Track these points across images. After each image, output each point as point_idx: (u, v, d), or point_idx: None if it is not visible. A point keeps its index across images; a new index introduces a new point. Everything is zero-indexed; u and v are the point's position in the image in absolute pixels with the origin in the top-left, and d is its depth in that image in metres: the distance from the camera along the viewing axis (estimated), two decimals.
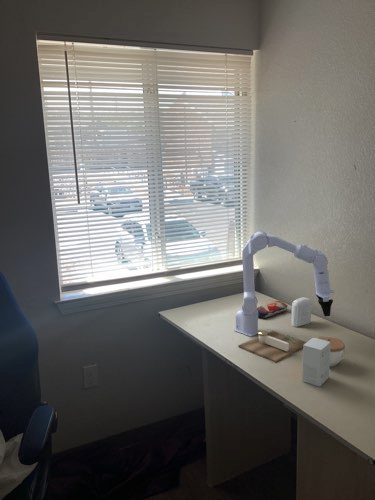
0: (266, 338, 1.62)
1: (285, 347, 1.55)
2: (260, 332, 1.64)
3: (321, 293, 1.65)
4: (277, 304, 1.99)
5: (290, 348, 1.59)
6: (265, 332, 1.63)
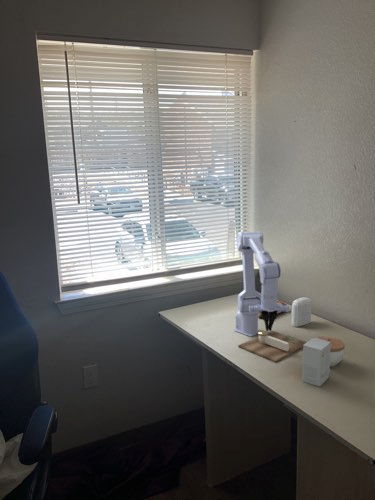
0: (266, 338, 1.62)
1: (285, 347, 1.55)
2: (260, 332, 1.64)
3: (261, 305, 1.52)
4: (278, 304, 1.99)
5: (290, 348, 1.59)
6: (265, 332, 1.63)
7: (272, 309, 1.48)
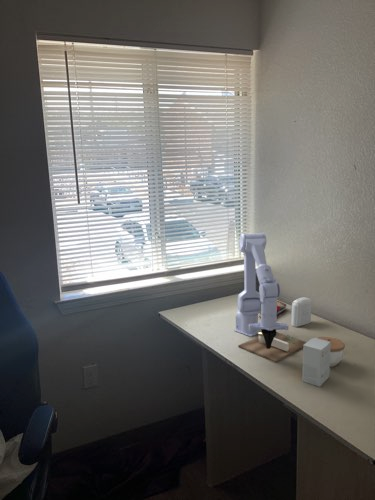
0: None
1: (285, 347, 1.55)
2: (260, 332, 1.64)
3: (260, 323, 1.53)
4: (278, 304, 2.00)
5: (290, 348, 1.59)
6: None
7: (272, 328, 1.49)
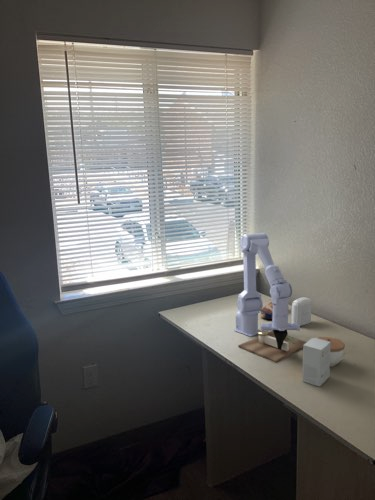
0: (266, 338, 1.62)
1: (285, 347, 1.55)
2: (260, 332, 1.64)
3: (272, 323, 1.55)
4: None
5: (290, 348, 1.59)
6: (265, 332, 1.63)
7: (283, 328, 1.50)
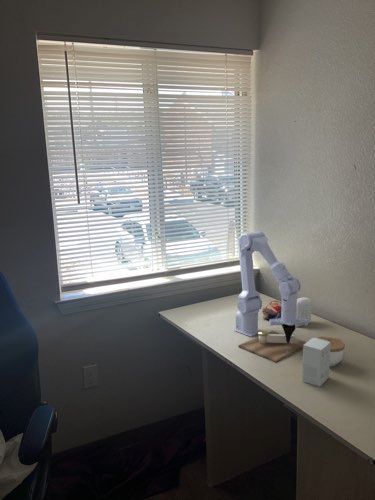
0: (268, 337, 1.63)
1: (292, 339, 1.62)
2: (261, 333, 1.63)
3: (281, 318, 1.60)
4: (278, 304, 2.00)
5: (290, 348, 1.59)
6: (264, 331, 1.64)
7: (292, 323, 1.56)
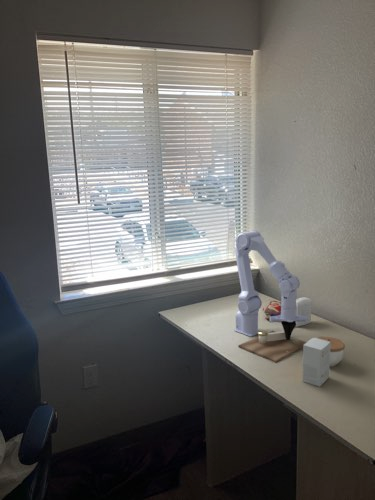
0: (269, 336, 1.64)
1: None
2: (262, 333, 1.63)
3: (280, 315, 1.63)
4: (278, 304, 2.00)
5: (290, 348, 1.59)
6: (264, 331, 1.64)
7: (291, 320, 1.59)
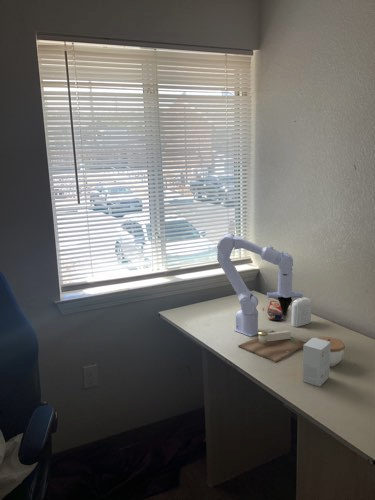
0: (269, 336, 1.64)
1: (289, 335, 1.66)
2: (262, 333, 1.63)
3: (277, 292, 1.71)
4: (279, 304, 2.00)
5: (290, 348, 1.59)
6: (264, 331, 1.64)
7: (288, 295, 1.67)
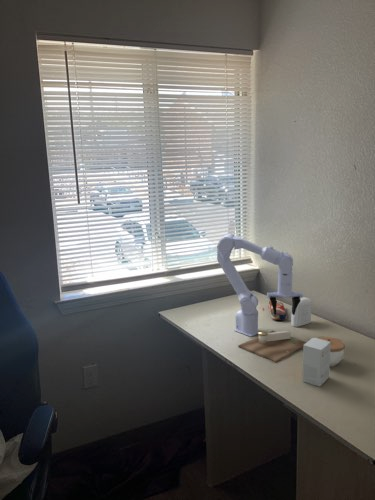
0: (269, 336, 1.64)
1: (289, 335, 1.66)
2: (262, 333, 1.63)
3: (277, 292, 1.71)
4: (279, 304, 2.00)
5: (290, 348, 1.59)
6: (264, 331, 1.64)
7: (288, 295, 1.67)
